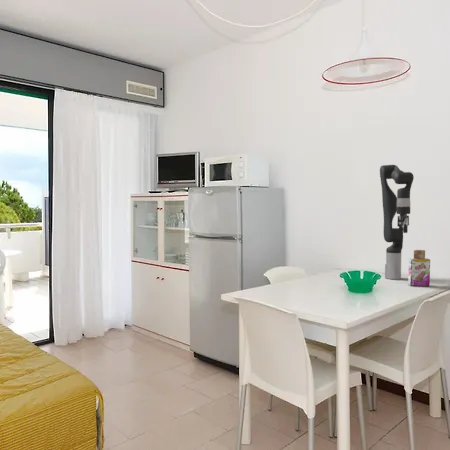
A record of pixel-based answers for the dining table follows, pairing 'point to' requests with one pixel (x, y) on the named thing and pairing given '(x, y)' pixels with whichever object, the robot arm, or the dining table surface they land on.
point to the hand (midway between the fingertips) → (403, 233)
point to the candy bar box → (419, 272)
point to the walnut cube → (419, 254)
